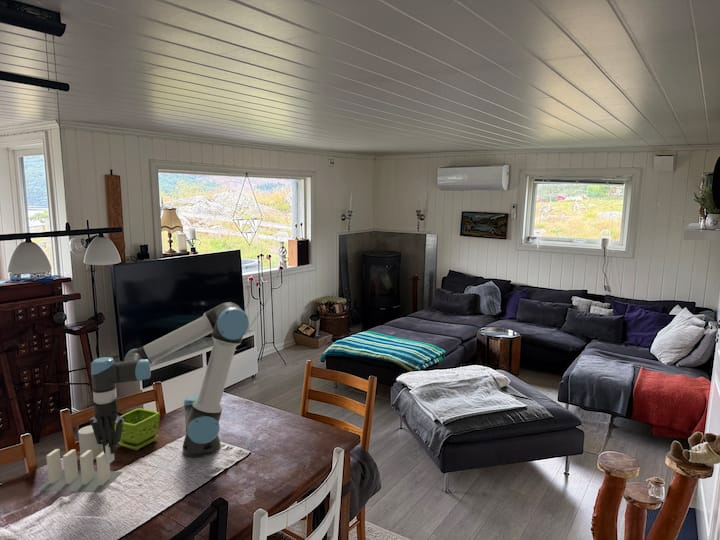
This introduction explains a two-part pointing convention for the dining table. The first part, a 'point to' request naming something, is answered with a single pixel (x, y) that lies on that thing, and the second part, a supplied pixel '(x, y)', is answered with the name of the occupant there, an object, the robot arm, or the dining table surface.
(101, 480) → the domino
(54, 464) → the domino
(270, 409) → the dining table surface
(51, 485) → the mat
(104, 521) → the dining table surface
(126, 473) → the dining table surface
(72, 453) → the domino
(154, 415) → the flower pot
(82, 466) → the domino
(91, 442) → the white upright cylinder
